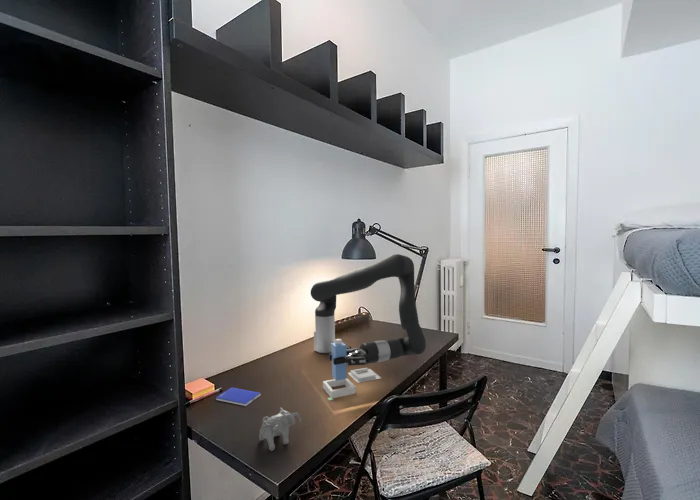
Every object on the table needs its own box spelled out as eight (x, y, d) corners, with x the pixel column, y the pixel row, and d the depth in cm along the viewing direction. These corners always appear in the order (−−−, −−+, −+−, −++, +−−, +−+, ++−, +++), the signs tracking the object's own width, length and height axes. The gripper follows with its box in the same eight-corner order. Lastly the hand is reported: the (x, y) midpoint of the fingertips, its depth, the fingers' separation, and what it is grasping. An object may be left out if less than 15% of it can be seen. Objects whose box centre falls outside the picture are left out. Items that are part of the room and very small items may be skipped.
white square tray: (370, 370, 143) (369, 365, 143) (381, 380, 134) (381, 375, 134) (347, 374, 139) (347, 370, 139) (357, 385, 130) (357, 379, 130)
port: (348, 382, 132) (348, 374, 132) (361, 396, 121) (361, 387, 121) (317, 388, 128) (317, 380, 127) (328, 403, 117) (328, 394, 116)
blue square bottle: (342, 374, 127) (341, 337, 126) (346, 378, 123) (345, 340, 122) (332, 376, 125) (331, 339, 124) (336, 380, 121) (335, 342, 121)
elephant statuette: (252, 445, 95) (251, 417, 94) (283, 424, 105) (282, 398, 104) (277, 456, 90) (276, 427, 89) (307, 433, 100) (306, 406, 99)
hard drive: (216, 396, 120) (245, 403, 116) (232, 386, 128) (260, 392, 123) (216, 401, 120) (246, 407, 116) (232, 391, 128) (260, 396, 123)
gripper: (366, 336, 136) (324, 343, 129) (384, 347, 122) (338, 355, 116) (367, 355, 136) (325, 363, 129) (384, 368, 123) (338, 377, 116)
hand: (331, 359), depth 123 cm, fingers closed on blue square bottle, 4 cm apart
